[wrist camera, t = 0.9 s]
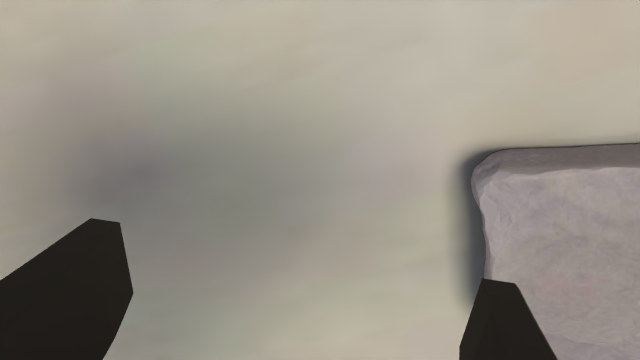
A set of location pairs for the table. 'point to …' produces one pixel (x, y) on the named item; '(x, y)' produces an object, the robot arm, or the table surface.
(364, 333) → the table surface
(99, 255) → the robot arm
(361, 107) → the table surface
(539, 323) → the stone block
